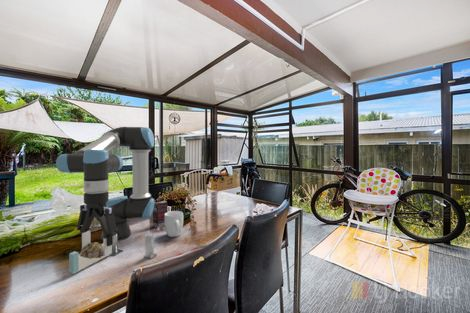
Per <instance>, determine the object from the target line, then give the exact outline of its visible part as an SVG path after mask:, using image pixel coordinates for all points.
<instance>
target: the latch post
mask: <svg viewBox="0 0 470 313" xmlns="http://www.w3.org/2000/svg"><path fill="white" fill-rule="evenodd" d="M154 240H155V239H154V235H146V236H145V255H143V257H144V258H145V259H149V260H152V259H154V258H155V257H156V256H157V254H156V253H154V252H155V251H154V249H155V248H154V244H155V243H154Z"/></svg>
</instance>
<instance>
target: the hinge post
mask: <svg viewBox="0 0 470 313" xmlns="http://www.w3.org/2000/svg"><path fill="white" fill-rule="evenodd" d="M123 251H124V250H122V249H118V241H117V234H116V235H114V236H113V244H112V254H110V255H109V256H112V257H115V256H117V255H119V254H121V253H123Z"/></svg>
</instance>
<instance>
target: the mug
mask: <svg viewBox="0 0 470 313" xmlns="http://www.w3.org/2000/svg"><path fill="white" fill-rule="evenodd" d="M164 222H165V225H164V229H165V233H166V235H167V236H168V237H170V238H171V237H172V238H174V237H178V236H180V234H181V233H182V230H183V227H184V212H183V211H181V210H180V211H179V210H172V211H167V213H165V221H164Z"/></svg>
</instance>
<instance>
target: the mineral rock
mask: <svg viewBox="0 0 470 313" xmlns="http://www.w3.org/2000/svg"><path fill="white" fill-rule="evenodd" d="M102 244H103V243H99V242H97V241H95V242H91V243H88V244H87V245H86V246H84V248H83V249H82V248H81V251H80V252H78V255H79V254H80V255H79V256H80V257H81V256H82V257H84V258H90V259H92V258H101V257H102V256H104V251H103V245H102Z"/></svg>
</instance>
